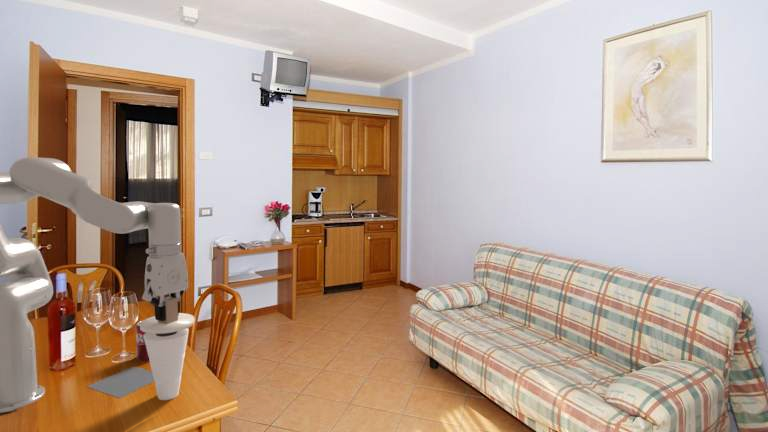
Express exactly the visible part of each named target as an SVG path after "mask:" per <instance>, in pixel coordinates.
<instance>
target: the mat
mask: <svg viewBox="0 0 768 432" xmlns="http://www.w3.org/2000/svg"><path fill="white" fill-rule="evenodd" d="M152 383H155V382H154V377H153V373H152V370H147V369H145V368H142V367H141V368H140V367H139V366H131V367H129V368H126V369H124V370H121V371H120V372H117V373H115V374H112V375H110V376H108V377H106V378H102V379H101V380H98V381H95V382H93V383H91V384H89V385H86V388H89V389H92V390H95V391H97V392H100V393H104V394H106V395H108V396H112V397H115V398H118V399H122V398H123V397H125V396H127V395H129V394H132V393H134V392H136V391H139V390H140V389H142V388H143V387H146V386H148V385H150V384H152Z"/></svg>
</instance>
